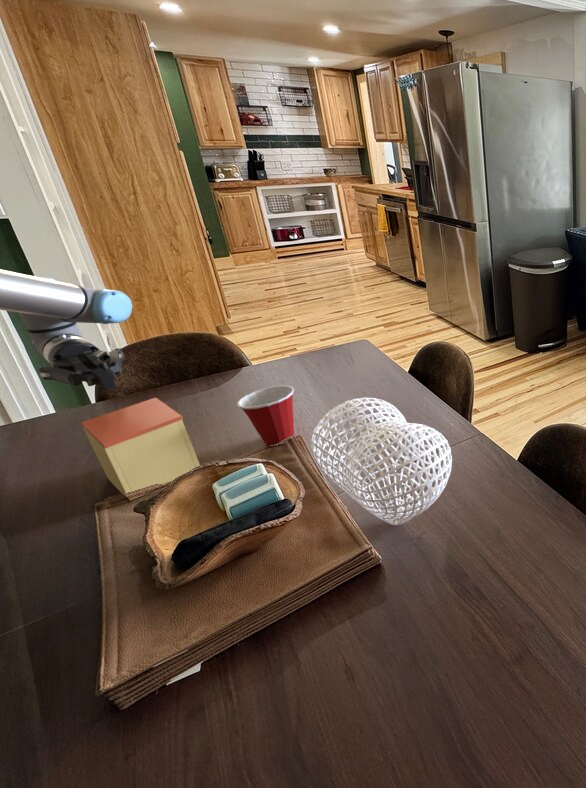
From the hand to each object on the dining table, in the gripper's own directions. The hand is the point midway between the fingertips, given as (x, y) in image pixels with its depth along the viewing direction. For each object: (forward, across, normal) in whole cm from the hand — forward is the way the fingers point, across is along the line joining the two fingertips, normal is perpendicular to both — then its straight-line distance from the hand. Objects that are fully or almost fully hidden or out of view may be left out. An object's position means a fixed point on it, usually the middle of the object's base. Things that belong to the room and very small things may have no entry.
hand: (108, 382), depth 93 cm
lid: (+5, 0, +7) cm, 9 cm away
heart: (+59, +19, +20) cm, 65 cm away
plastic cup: (+13, +20, +20) cm, 32 cm away
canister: (+5, 0, +20) cm, 21 cm away
